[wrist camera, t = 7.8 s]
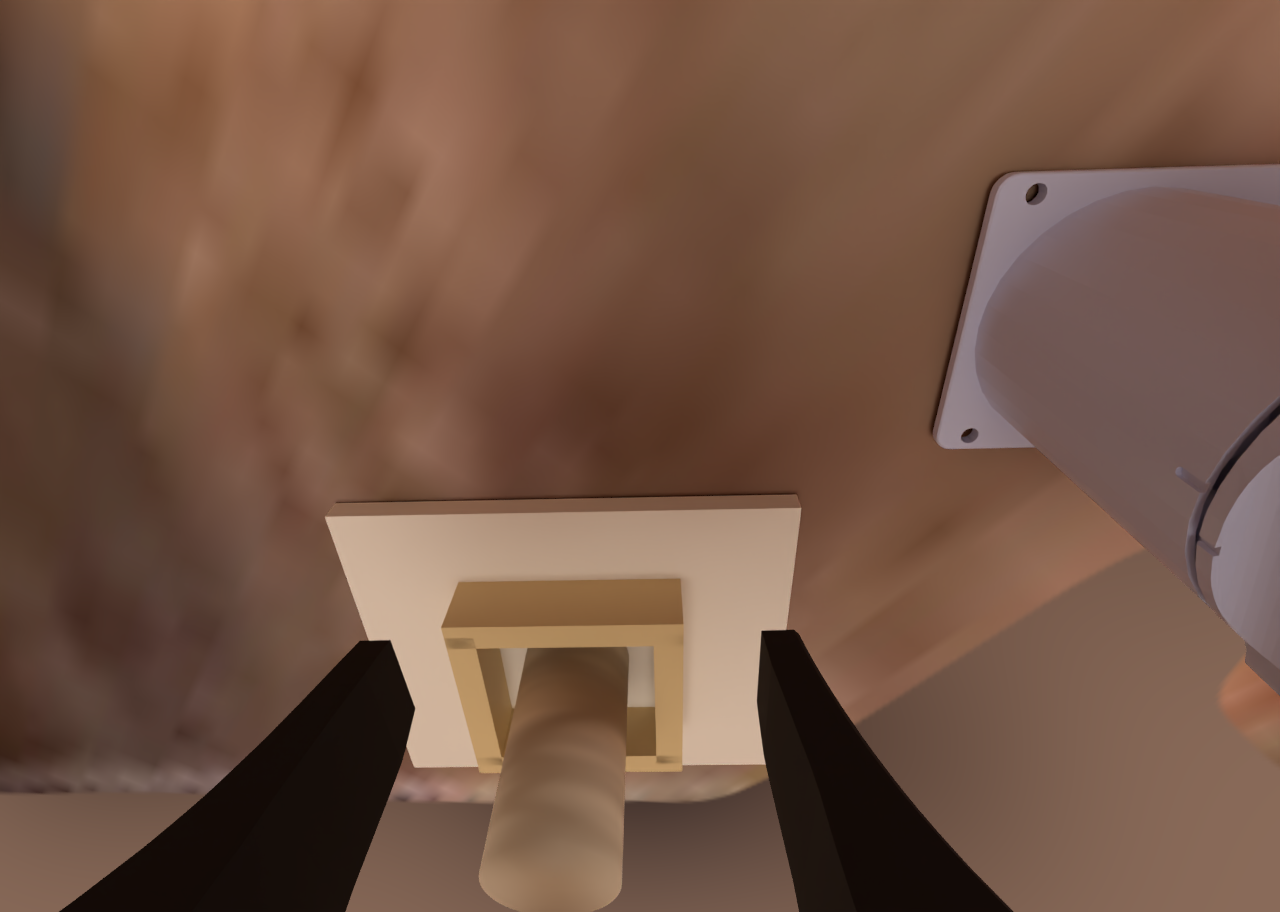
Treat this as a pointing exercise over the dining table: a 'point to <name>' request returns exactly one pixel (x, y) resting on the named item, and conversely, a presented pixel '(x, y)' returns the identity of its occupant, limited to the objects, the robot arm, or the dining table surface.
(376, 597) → the socket plate
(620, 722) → the birch peg
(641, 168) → the dining table surface
